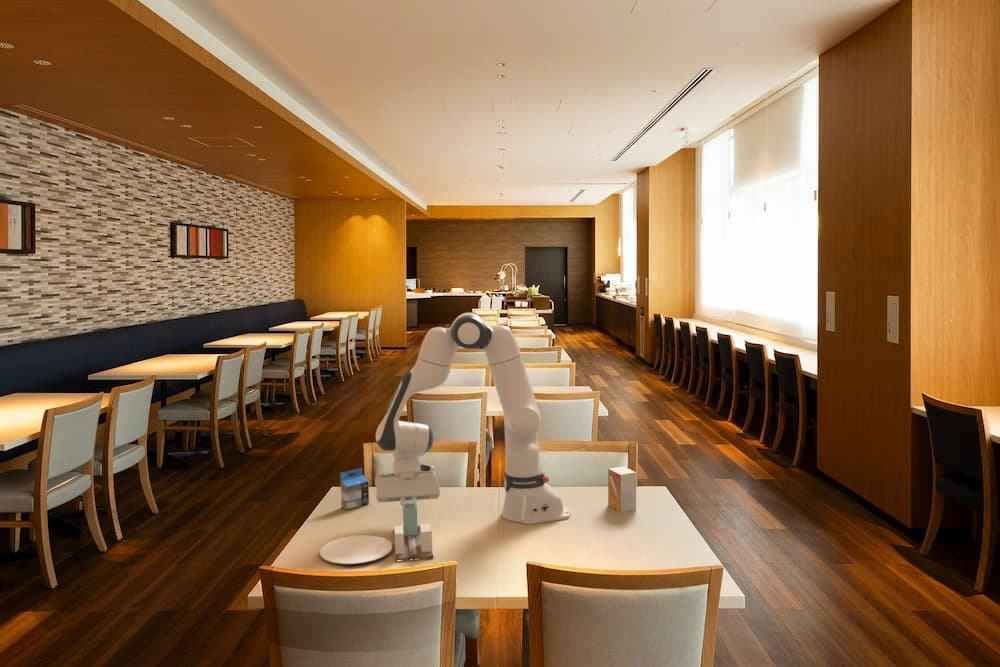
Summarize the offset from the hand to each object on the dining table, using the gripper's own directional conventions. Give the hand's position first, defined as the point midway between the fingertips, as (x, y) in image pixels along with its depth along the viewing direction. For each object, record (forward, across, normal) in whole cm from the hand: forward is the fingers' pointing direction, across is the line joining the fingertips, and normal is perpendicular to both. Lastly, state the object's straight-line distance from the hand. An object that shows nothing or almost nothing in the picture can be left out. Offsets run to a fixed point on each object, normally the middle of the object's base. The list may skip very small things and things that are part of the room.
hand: (409, 512), depth 237 cm
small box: (0, +72, +8) cm, 72 cm away
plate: (+16, -16, -7) cm, 24 cm away
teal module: (+8, 0, -2) cm, 8 cm away
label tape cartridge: (-14, -18, +22) cm, 31 cm away
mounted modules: (+16, 0, -10) cm, 19 cm away
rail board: (+13, 0, -5) cm, 14 cm away
